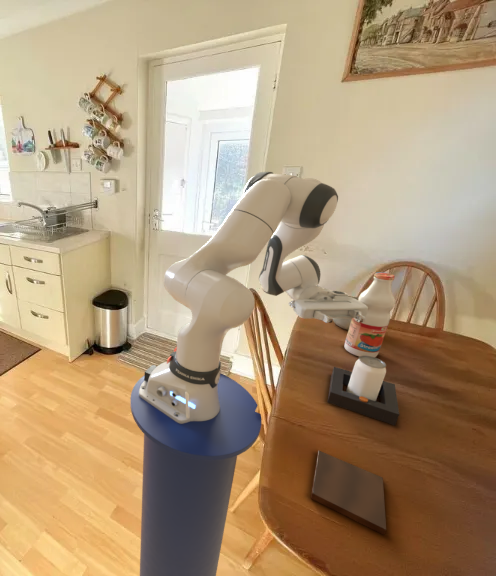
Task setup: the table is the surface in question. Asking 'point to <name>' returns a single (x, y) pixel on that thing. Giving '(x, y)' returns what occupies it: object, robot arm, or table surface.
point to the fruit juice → (372, 318)
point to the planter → (344, 319)
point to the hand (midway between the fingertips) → (346, 320)
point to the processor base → (362, 405)
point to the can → (367, 377)
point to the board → (349, 491)
